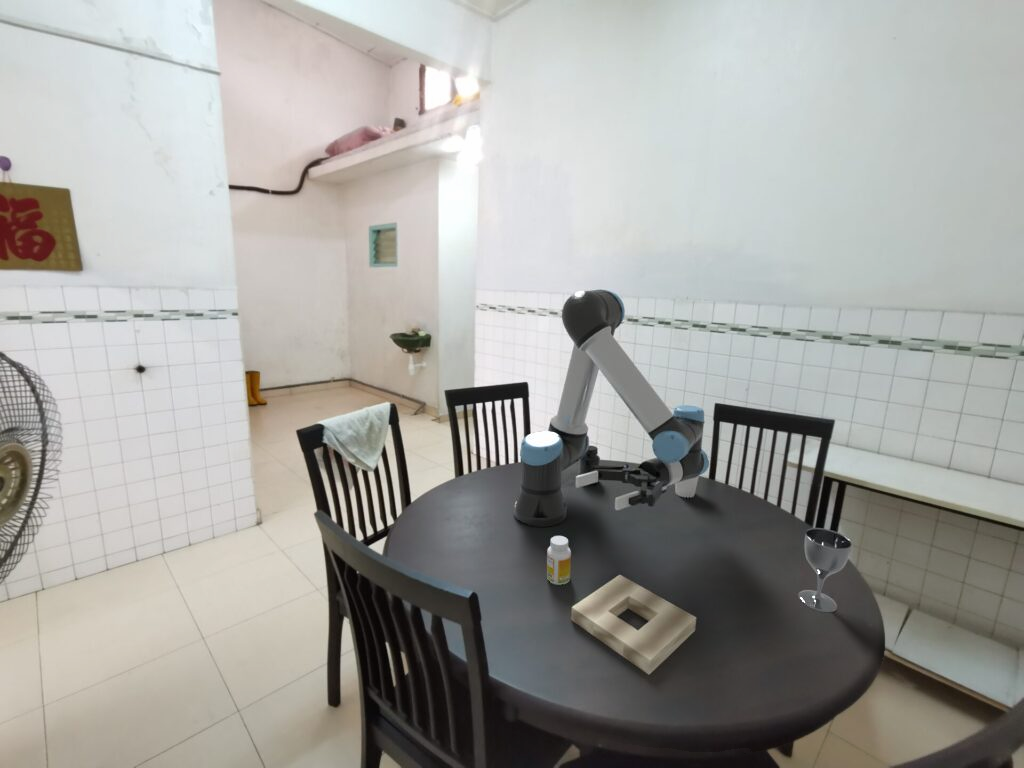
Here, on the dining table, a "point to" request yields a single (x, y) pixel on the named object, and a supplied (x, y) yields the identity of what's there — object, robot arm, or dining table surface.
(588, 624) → the socket block
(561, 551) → the supplement bottle
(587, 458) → the supplement bottle
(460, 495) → the dining table surface
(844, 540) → the wine glass
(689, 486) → the dixie cup
